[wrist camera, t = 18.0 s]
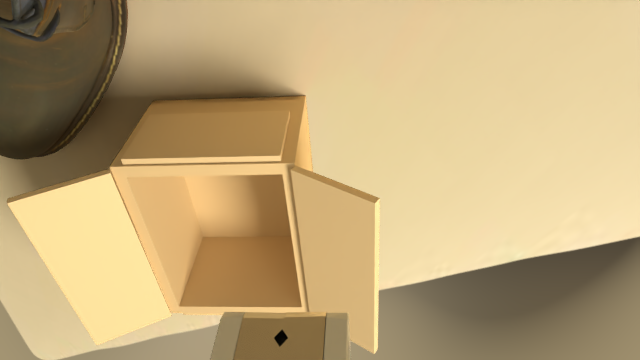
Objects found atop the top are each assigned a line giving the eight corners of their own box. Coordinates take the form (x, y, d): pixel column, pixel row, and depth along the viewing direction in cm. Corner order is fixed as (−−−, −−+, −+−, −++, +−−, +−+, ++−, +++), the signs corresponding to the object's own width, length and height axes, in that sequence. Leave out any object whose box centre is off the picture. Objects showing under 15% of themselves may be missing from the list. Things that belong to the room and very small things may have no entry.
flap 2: (295, 165, 35) (379, 198, 31) (314, 312, 46) (377, 348, 42) (290, 169, 34) (374, 203, 31) (310, 317, 45) (374, 354, 42)
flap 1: (110, 173, 36) (7, 203, 34) (171, 315, 47) (96, 345, 45) (109, 168, 36) (7, 198, 34) (170, 311, 47) (96, 340, 45)
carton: (305, 90, 42) (293, 157, 34) (319, 242, 54) (313, 317, 46) (151, 95, 43) (106, 161, 36) (198, 242, 55) (173, 316, 47)
